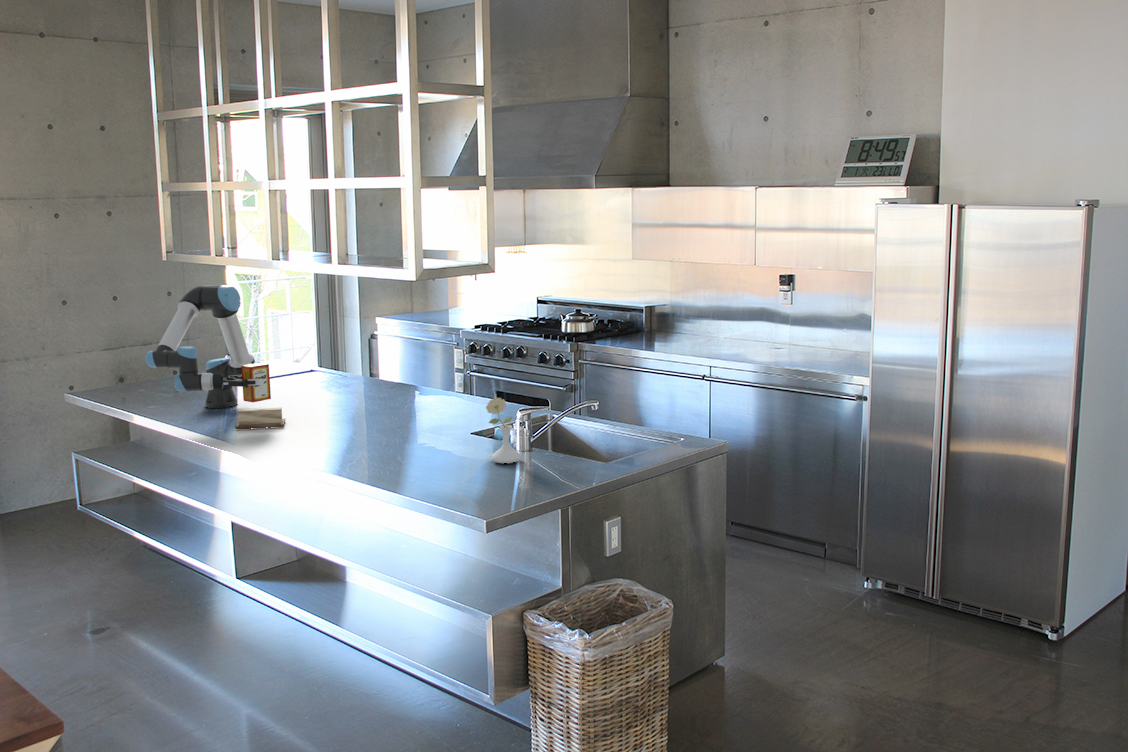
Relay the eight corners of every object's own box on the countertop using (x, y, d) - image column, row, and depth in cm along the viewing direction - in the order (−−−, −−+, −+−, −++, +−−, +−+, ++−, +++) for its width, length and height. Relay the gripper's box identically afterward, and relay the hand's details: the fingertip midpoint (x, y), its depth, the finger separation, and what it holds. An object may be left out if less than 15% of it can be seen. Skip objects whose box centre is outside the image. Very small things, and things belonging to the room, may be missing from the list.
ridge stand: (239, 424, 422) (238, 407, 421) (285, 421, 426) (284, 405, 425) (235, 430, 411) (234, 413, 409) (283, 427, 415) (282, 411, 413)
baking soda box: (261, 397, 422) (259, 362, 419) (270, 398, 418) (268, 363, 415) (243, 400, 414) (241, 364, 411) (252, 402, 410) (250, 366, 407)
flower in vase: (521, 457, 362) (520, 394, 357) (521, 465, 350) (520, 400, 346) (487, 458, 361) (486, 394, 357) (486, 466, 350) (484, 400, 346)
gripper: (218, 385, 423) (268, 382, 427) (209, 395, 400) (262, 392, 404) (216, 368, 422) (267, 366, 426) (207, 377, 399) (261, 375, 403)
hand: (265, 379), depth 415 cm, fingers closed on baking soda box, 11 cm apart
